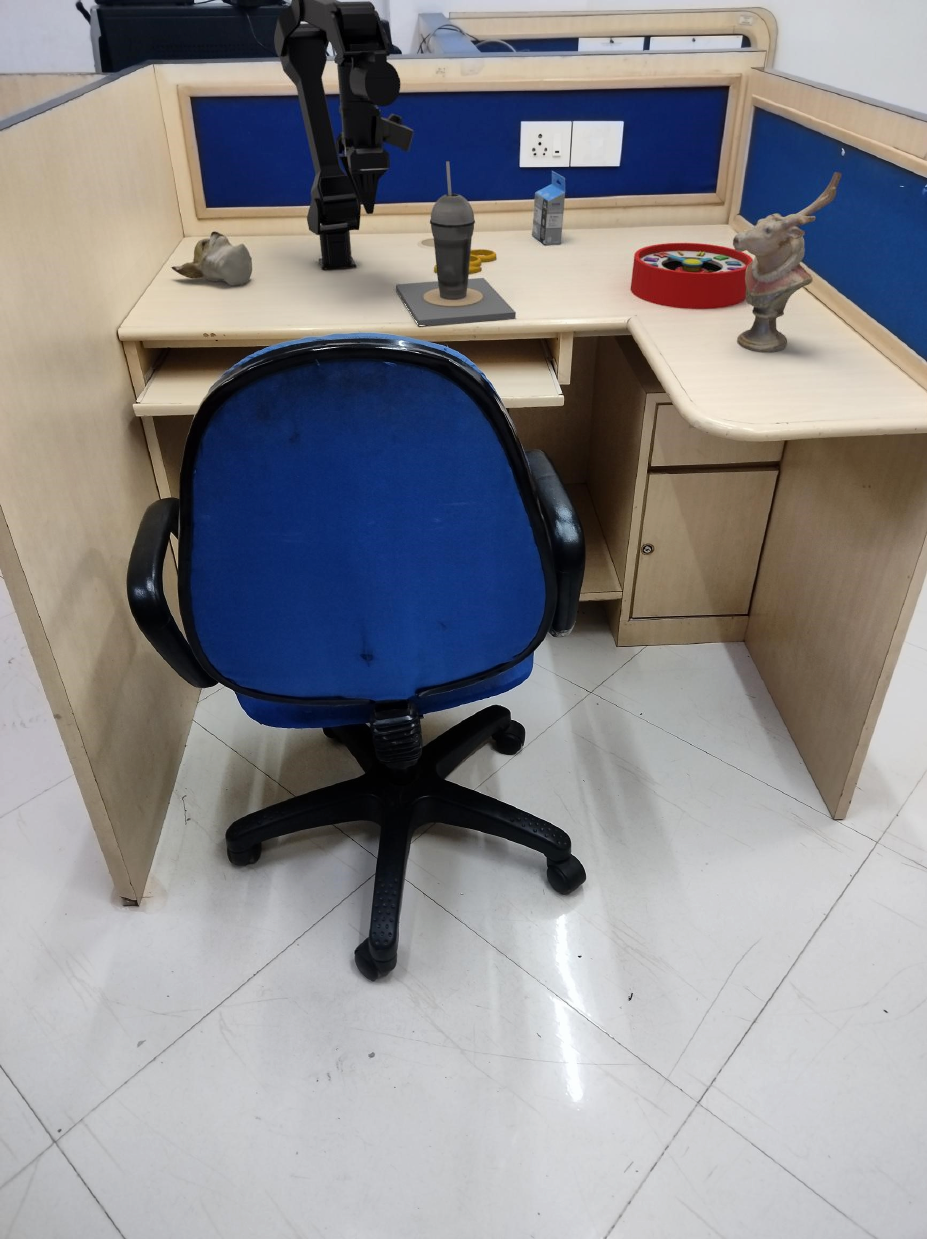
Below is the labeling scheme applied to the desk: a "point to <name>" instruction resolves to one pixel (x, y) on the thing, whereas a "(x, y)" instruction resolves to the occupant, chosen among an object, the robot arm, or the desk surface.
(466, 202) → the beverage cup
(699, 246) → the toy clock
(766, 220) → the decorative bust
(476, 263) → the yellow joined rings
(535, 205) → the label tape box
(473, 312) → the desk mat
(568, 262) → the desk surface
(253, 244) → the desk surface
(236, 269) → the ceramic sculpture
